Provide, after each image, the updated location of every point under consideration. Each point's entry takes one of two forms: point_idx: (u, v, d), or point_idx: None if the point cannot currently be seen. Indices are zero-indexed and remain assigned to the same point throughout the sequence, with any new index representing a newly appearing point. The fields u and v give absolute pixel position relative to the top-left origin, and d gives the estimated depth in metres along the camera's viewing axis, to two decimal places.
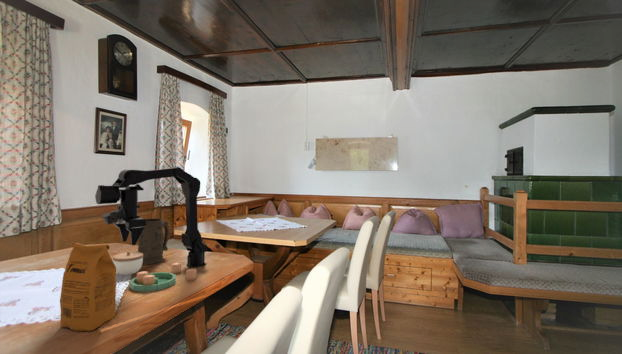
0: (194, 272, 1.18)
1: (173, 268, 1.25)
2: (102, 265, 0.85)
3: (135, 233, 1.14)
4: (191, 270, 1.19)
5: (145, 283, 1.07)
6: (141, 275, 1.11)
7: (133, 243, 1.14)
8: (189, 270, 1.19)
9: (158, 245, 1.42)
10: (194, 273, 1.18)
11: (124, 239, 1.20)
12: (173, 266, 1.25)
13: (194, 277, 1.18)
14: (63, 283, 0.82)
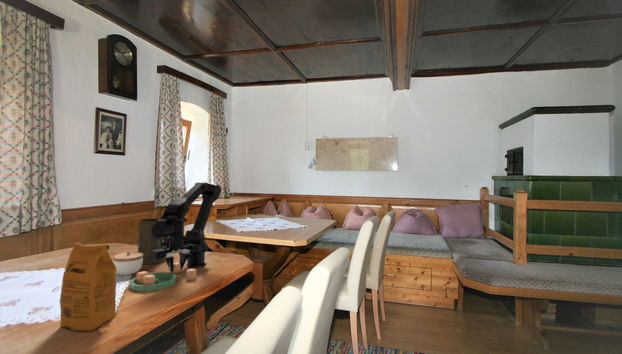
0: (194, 272, 1.18)
1: (173, 268, 1.25)
2: (102, 265, 0.85)
3: (168, 262, 1.24)
4: (191, 270, 1.19)
5: (145, 283, 1.07)
6: (141, 275, 1.11)
7: (170, 271, 1.25)
8: (189, 270, 1.19)
9: None
10: (194, 273, 1.18)
11: None
12: (173, 266, 1.25)
13: (194, 277, 1.18)
14: (63, 283, 0.82)
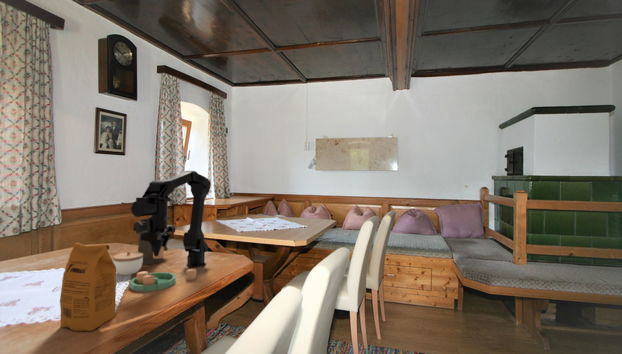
0: (194, 272, 1.18)
1: None
2: (102, 265, 0.85)
3: (155, 244, 1.14)
4: (191, 270, 1.19)
5: (145, 283, 1.07)
6: (141, 275, 1.11)
7: (155, 254, 1.15)
8: (189, 270, 1.19)
9: None
10: (194, 273, 1.18)
11: None
12: None
13: (194, 277, 1.18)
14: (63, 283, 0.82)
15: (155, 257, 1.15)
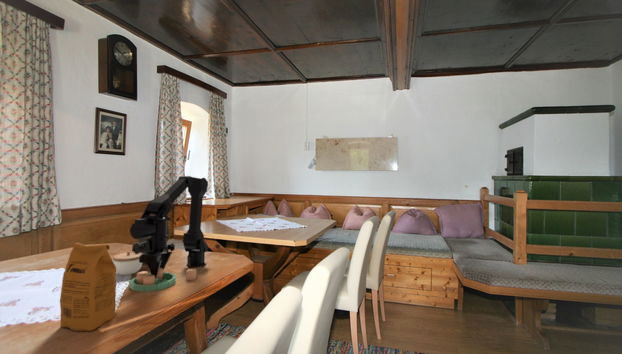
0: (194, 272, 1.18)
1: (158, 273, 1.15)
2: (102, 265, 0.85)
3: (153, 266, 1.12)
4: (191, 270, 1.19)
5: (145, 283, 1.07)
6: (141, 275, 1.11)
7: None
8: (189, 270, 1.19)
9: None
10: (194, 273, 1.18)
11: None
12: (158, 271, 1.15)
13: (194, 277, 1.18)
14: (63, 283, 0.82)
15: None
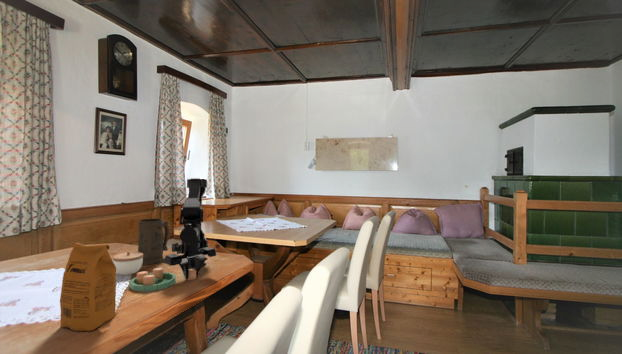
0: (194, 272, 1.18)
1: (158, 273, 1.15)
2: (102, 265, 0.85)
3: (183, 268, 1.16)
4: (191, 270, 1.19)
5: (145, 283, 1.07)
6: (141, 275, 1.11)
7: (185, 277, 1.17)
8: (189, 270, 1.19)
9: (158, 246, 1.42)
10: (194, 273, 1.18)
11: None
12: (158, 271, 1.15)
13: (194, 277, 1.18)
14: (63, 283, 0.82)
15: None
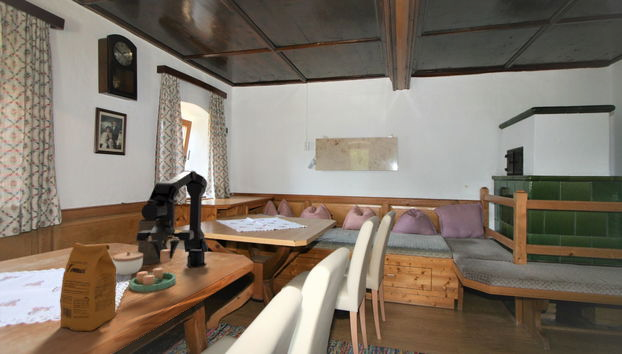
0: None
1: (158, 273, 1.15)
2: (102, 265, 0.85)
3: (174, 246, 1.14)
4: (166, 250, 1.14)
5: (145, 283, 1.07)
6: (141, 275, 1.11)
7: (171, 257, 1.13)
8: (167, 250, 1.13)
9: None
10: None
11: None
12: (158, 271, 1.15)
13: None
14: (63, 283, 0.82)
15: None
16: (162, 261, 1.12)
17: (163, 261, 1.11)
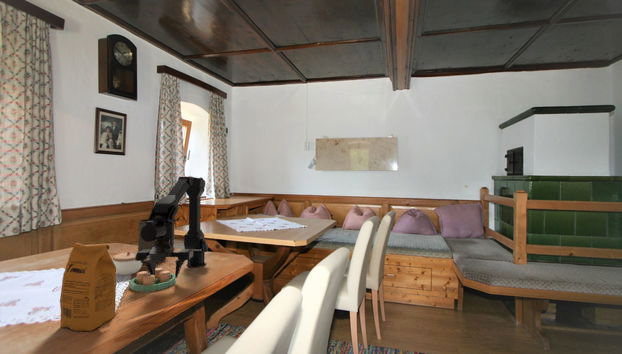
0: None
1: (158, 273, 1.15)
2: (102, 265, 0.85)
3: (180, 265, 1.14)
4: (165, 272, 1.14)
5: (145, 283, 1.07)
6: (141, 275, 1.11)
7: (177, 276, 1.13)
8: (166, 272, 1.13)
9: None
10: None
11: None
12: (158, 271, 1.15)
13: None
14: (63, 283, 0.82)
15: None
16: None
17: None
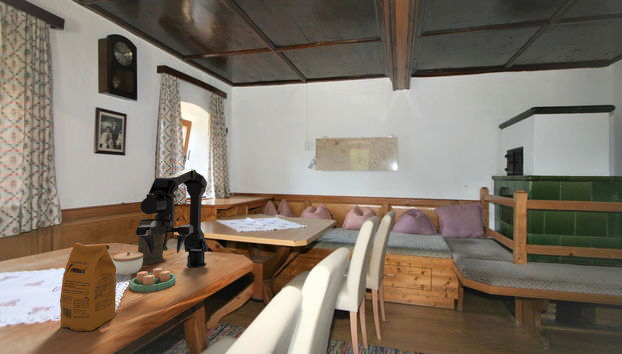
0: None
1: (158, 273, 1.15)
2: (102, 265, 0.85)
3: (181, 240, 1.14)
4: (165, 272, 1.14)
5: (145, 283, 1.07)
6: (141, 275, 1.11)
7: (178, 251, 1.13)
8: (166, 272, 1.13)
9: (158, 246, 1.42)
10: None
11: (152, 251, 1.13)
12: (158, 271, 1.15)
13: None
14: (63, 283, 0.82)
15: None
16: None
17: None
